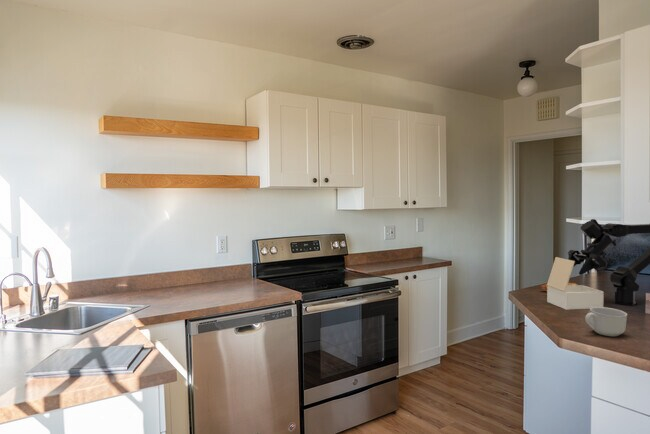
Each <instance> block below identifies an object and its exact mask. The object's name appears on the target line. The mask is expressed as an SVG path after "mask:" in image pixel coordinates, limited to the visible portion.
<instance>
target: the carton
mask: <svg viewBox="0 0 650 434" xmlns="http://www.w3.org/2000/svg"><path fill="white" fill-rule="evenodd" d="M546 295H547V296H546V298H547V300H546V302H547V303H548V304H551V305H554V306H557V307H559V308H561V309H564V310H567V311H568V310H590V308H592V307H604V291H603V290H600V289H596V288H593V287H590V286H587V285H582V284H579V285H578V284H577V285H567V288H566V291H563V290H560V289H557V288H554V287H551V286H547V291H546Z"/></svg>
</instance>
